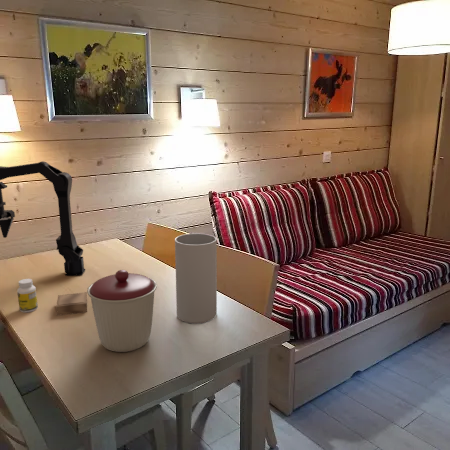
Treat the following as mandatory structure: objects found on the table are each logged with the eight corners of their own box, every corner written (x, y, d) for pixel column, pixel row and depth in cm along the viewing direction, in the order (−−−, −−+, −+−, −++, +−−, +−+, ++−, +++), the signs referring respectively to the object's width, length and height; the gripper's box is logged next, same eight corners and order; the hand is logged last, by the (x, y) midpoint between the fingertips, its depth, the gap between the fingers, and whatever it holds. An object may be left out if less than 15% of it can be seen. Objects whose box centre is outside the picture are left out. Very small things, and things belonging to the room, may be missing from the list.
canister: (79, 341, 118) (73, 270, 113) (135, 320, 130) (132, 255, 125) (113, 368, 105) (108, 289, 100) (172, 342, 118) (170, 270, 113)
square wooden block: (87, 300, 144) (86, 291, 144) (87, 311, 136) (86, 302, 135) (58, 303, 142) (58, 294, 141) (57, 315, 133) (56, 306, 133)
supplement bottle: (15, 310, 136) (12, 282, 134) (30, 304, 141) (27, 276, 139) (27, 314, 134) (23, 285, 132) (41, 307, 139) (38, 279, 136)
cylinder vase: (209, 304, 142) (208, 231, 136) (222, 320, 131) (222, 242, 124) (172, 310, 138) (170, 235, 131) (182, 327, 126) (181, 246, 120)
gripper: (-17, 196, 167) (-11, 234, 171) (-42, 206, 149) (-35, 248, 153) (12, 195, 168) (17, 234, 172) (-9, 205, 150) (-2, 248, 154)
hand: (0, 240), depth 162 cm, fingers open, 9 cm apart
